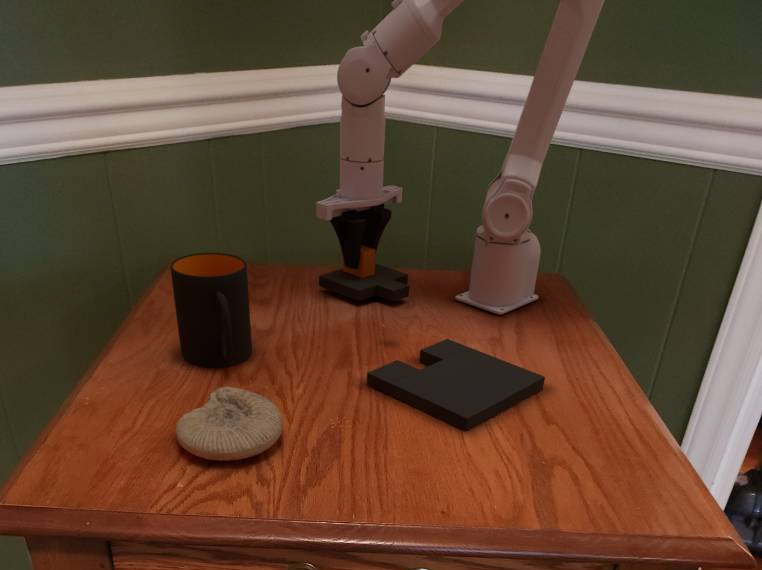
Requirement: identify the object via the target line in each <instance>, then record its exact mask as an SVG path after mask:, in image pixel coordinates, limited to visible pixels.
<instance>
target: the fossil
mask: <svg viewBox="0 0 762 570" xmlns="http://www.w3.org/2000/svg"><path fill="white" fill-rule="evenodd" d="M207 400H208V401H207V402H206V403H205V404H203V406H201V407H197V408H195V409H193V410H191V411H190V412H187V413H186V412H185V413H184V414H183V415H182V416H181V418H180V419H179V420H177V422H176V425H175V432H176V438H177V441H178V443H179V445H180V447H182V448H183V449H184V450H185V451H187V452H188V453H190V454H191V455H194V456H195V457H198V458H203V459H205V460H208V461H209V460H211V461H219V462H222V461H224V462H227V461H240V460H245V459H248V458H252V457H255V456H257V455H261V454H262V453H264V452H266V451H267V450H269V449H271V447H272V446H274V444H276V443H277V441H278V440H279V439H280V436H281V435H282V431H283V418H282V415H281V414H282V413H281V412H280V410H279V408H278V407H277V406H276V405H275V403H274V402H272V401H271V400H269V398H268V397H265V396H264V395H261V394H258V393H255V392H254V391H253V392H251V391H250V390H246V389H242V388H238V387H232V386H223V387H220V386H219V387H218V388H216V389H215V390H214V391H212V392H211V393H210V394H209V395H208V396H207Z"/></svg>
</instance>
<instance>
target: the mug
mask: <svg viewBox="0 0 762 570" xmlns="http://www.w3.org/2000/svg"><path fill="white" fill-rule="evenodd" d="M169 267H170V274H171V283H172V291H173V300H174V308H175V314H176V322H177V330H178V337H179V346H180V354H181V357H182V359H183V360H184V361H185V362H186V363H188V364H190V365H193V366H194V367H195V366H196V367H199V368H207V369H208V368H209V369H221V368H222V369H223V368H228V367H234V366H237V365H239V364H243V362H246V361H247V360H249V359H250V357H251V356H252V354H253V344H252V341H253V340H252V328H251V326H252V325H251V312H250V310H251V309H250V297H249V295H250V293H249V281H248V279H249V278H248V267H247V261H245V259H244V258H241V257H240V256H237V255H234V254H231V253H223V252H198V253H192V254H187V255H183V256H180V257H178V258H176V259H174V260H173V261H172V262H171V263H170V266H169Z"/></svg>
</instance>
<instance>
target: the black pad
mask: <svg viewBox="0 0 762 570" xmlns="http://www.w3.org/2000/svg"><path fill="white" fill-rule="evenodd" d="M408 280H409V274H408V273H405V272H402V271H399V270H397V269H394V268H390V267H387V266H385V265H382V264H379V263H376V254H375V249H373V248H370V247H366V246H363V245H361V253H360V262H359V267H358V269H352V268H349V267H346V266H345V263H344V258H343V257H342V268H340V269H336V270H333V271H329V272H326V273H323V274H320V275H318V287H321V288H323V289H326V290H329V291H332V292H334V293H336V294H339V295H342V296H345V297H347V298H350V299H352V300H355V301H357V302H360V301H363V300H366V299H370V298H372V297H375V296H376V297H379V298H382V299H385V300H387V301H390V302H392V303H393V302H396V301H399V300H402V299H405V298H408V297H409V295H410V285H409V284H408Z"/></svg>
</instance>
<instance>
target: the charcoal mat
mask: <svg viewBox="0 0 762 570" xmlns="http://www.w3.org/2000/svg"><path fill="white" fill-rule="evenodd" d="M419 363H421V364H424V365H426V367H423V368H421V369H420V368H417V367H415V366H412V365H411V364H408V363H406V362H403V361H401V360H399V359H396V360H393V361H390V362H389V363H386V364H383V365H382V366H379V367H376V368H375V369H373V370H370V371H368V372H367V373H366V386H368V387H370V388H372V389H375V390H377V391H379V392H380V393H383V394H385V395H388V396H390V397H392V398H394V399H396V400H398V401H401V402H402V403H404V404H406V405H409V406H411V407H413V408H414V409H417V410H419V411H422V412H424V413H426V414H428V415H431V416H432V417H434V418H436V419H439V420H440V421H443V422H445V423H447V424H449V425H451V426H453V427H455V428H458V429H459V430H462V431H464V432H468V431H469V430H471V429H473V428H475V427H476V426H478V425H481V424H482V423H484V422H486V421H487V420H489V419H491V418H493V417H495V416H496V415H499V414H500V413H502V412H503V411H505V410H508V409H510V408H511V407H513V406H515V405H517V404H518V403H520V402H522V401H524V400H526V399H527V398H529V397H532V396H533V395H534V394H536V393H538V392H540V391H542V390H543V389H544V385H545V381H546V376H544V375H542V374H539V373H536V372H534V371H532V370H529V369H527V368H524V367H521V366H518V365H516V364H513V363H511V362H508V361H505V360H503V359H500V358H498V357H495V356H492V355H490V354H488V353H486V352H483V351H480V350H477V349H474V348H472V347H469V346H467V345H464V344H462V343H460V342H456V341H454V340H452V339H449V338H445V339H443V340H440V341H438V342H436V343H433V344H431V345H428V346H426V347H424V348H421V349H420V352H419Z"/></svg>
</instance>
